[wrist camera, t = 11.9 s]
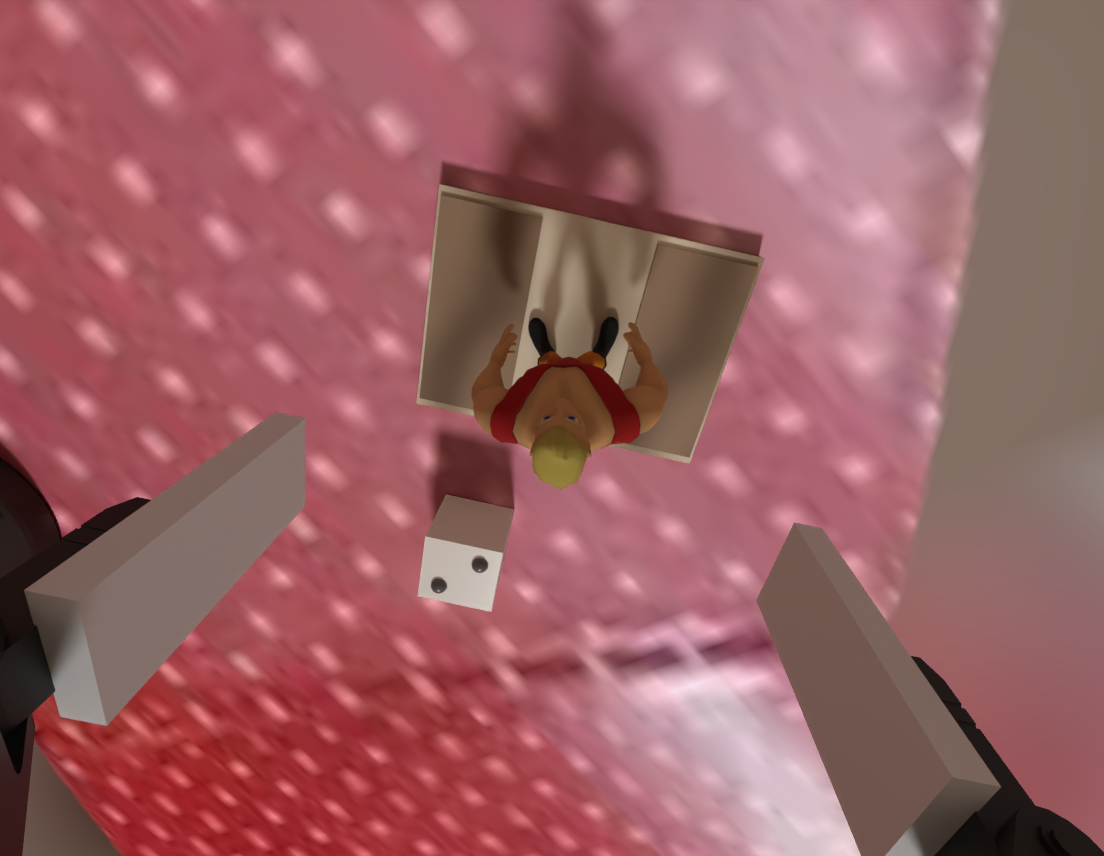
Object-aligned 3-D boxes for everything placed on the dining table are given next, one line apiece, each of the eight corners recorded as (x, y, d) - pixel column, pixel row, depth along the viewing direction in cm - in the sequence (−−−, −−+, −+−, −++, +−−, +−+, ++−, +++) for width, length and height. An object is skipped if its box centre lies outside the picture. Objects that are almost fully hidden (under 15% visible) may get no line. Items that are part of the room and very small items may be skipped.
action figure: (656, 306, 30) (705, 419, 16) (652, 366, 31) (695, 514, 18) (492, 309, 31) (410, 419, 17) (496, 367, 32) (426, 509, 19)
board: (421, 397, 34) (415, 404, 33) (444, 184, 29) (438, 184, 28) (687, 456, 35) (690, 465, 34) (759, 256, 29) (765, 258, 28)
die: (438, 549, 39) (415, 601, 34) (446, 494, 37) (422, 541, 32) (502, 563, 40) (489, 617, 35) (514, 509, 37) (501, 558, 32)
